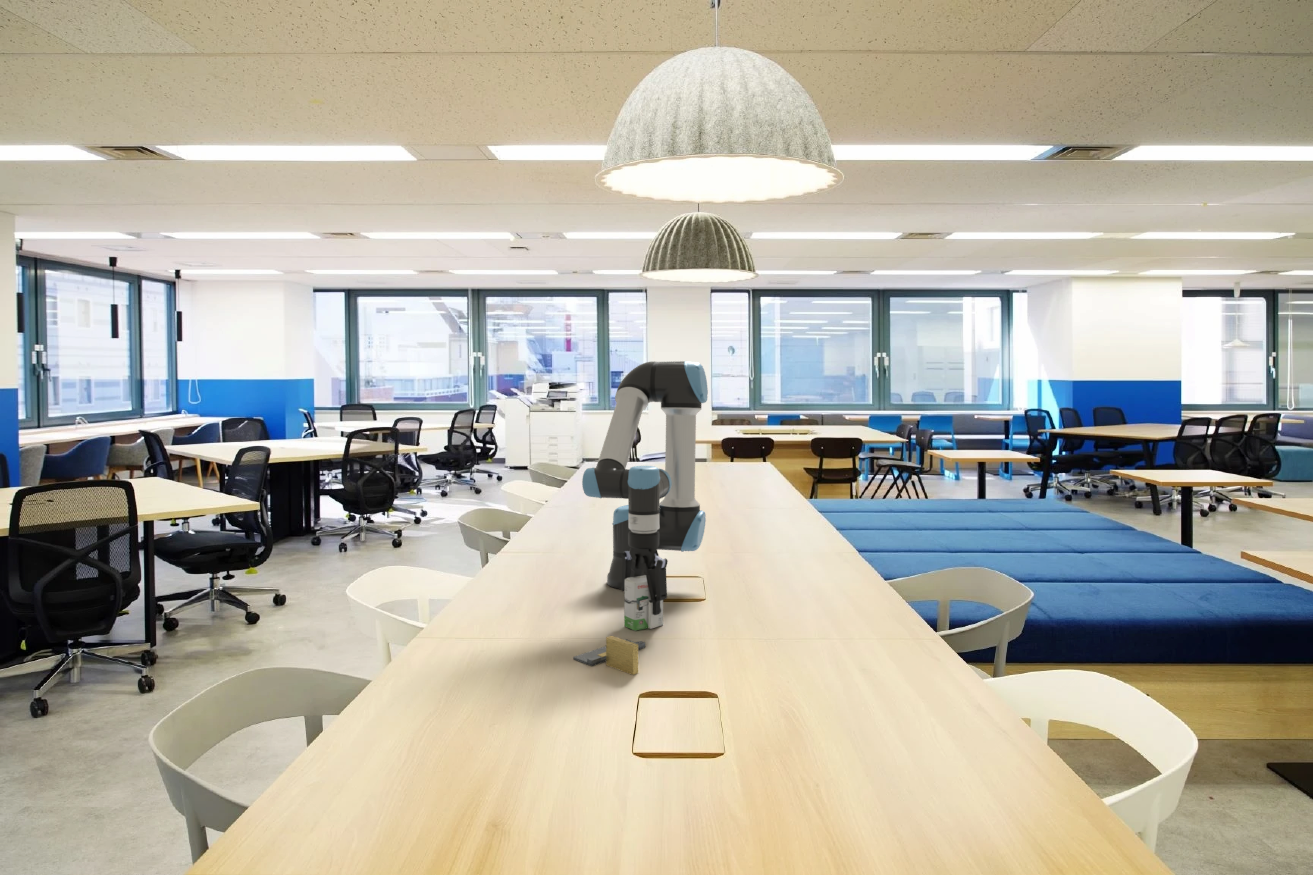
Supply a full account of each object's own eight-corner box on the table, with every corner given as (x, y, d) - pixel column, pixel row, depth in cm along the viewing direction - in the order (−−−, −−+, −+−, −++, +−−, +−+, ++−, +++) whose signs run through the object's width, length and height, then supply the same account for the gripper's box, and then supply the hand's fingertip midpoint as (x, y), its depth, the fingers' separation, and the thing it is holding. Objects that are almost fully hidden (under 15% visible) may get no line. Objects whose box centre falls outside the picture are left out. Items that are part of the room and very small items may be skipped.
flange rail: (573, 659, 172) (572, 631, 172) (626, 641, 184) (626, 615, 183) (624, 678, 162) (624, 649, 161) (677, 658, 173) (677, 631, 173)
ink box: (634, 631, 191) (634, 582, 190) (623, 626, 195) (623, 578, 194) (664, 625, 196) (664, 577, 195) (652, 620, 200) (653, 573, 199)
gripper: (606, 527, 197) (606, 619, 199) (661, 538, 184) (661, 636, 186) (627, 523, 203) (627, 613, 205) (683, 533, 190) (682, 629, 192)
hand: (643, 624), depth 195 cm, fingers closed on ink box, 6 cm apart
